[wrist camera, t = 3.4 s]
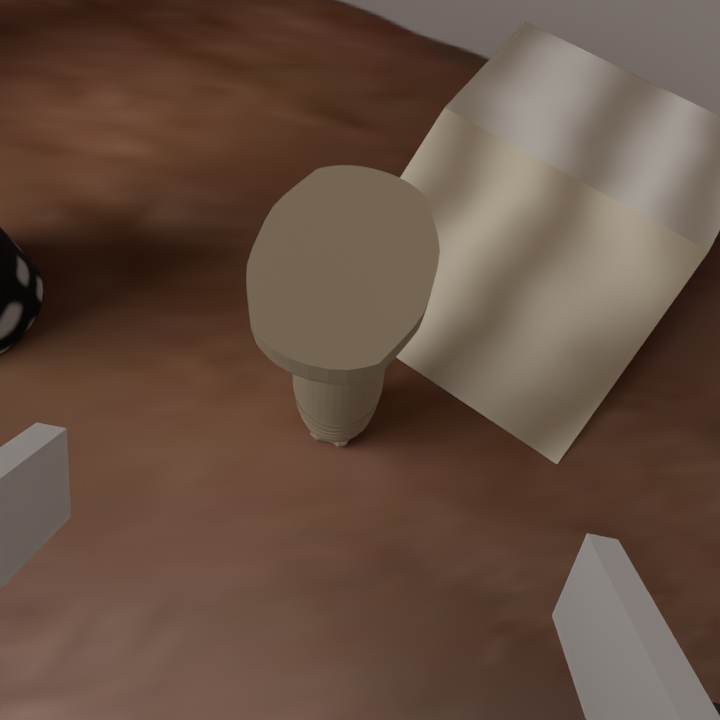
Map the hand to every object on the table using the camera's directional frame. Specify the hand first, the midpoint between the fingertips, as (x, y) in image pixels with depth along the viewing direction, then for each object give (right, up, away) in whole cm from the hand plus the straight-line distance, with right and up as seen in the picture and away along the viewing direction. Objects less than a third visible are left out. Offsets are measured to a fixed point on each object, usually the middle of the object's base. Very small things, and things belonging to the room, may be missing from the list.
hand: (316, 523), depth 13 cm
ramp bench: (+11, +10, +21) cm, 26 cm away
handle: (0, +1, +15) cm, 15 cm away
